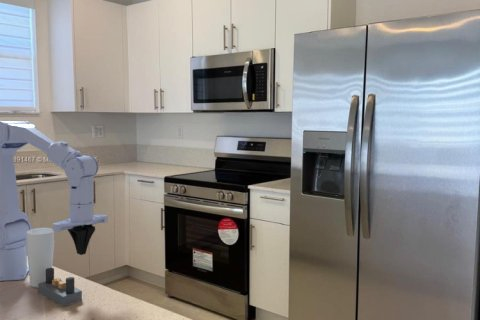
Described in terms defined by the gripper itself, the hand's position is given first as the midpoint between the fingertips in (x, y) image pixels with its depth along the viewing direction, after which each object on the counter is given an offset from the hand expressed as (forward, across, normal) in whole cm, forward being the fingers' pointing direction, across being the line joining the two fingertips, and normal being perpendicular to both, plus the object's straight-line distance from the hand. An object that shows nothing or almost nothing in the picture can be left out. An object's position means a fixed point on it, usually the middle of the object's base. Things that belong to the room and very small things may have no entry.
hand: (81, 253), depth 110 cm
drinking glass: (+11, -5, +12) cm, 17 cm away
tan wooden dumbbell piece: (+8, -5, +1) cm, 9 cm away
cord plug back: (+8, -5, +6) cm, 11 cm away
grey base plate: (+10, -5, +1) cm, 12 cm away
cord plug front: (+8, -5, -3) cm, 10 cm away
